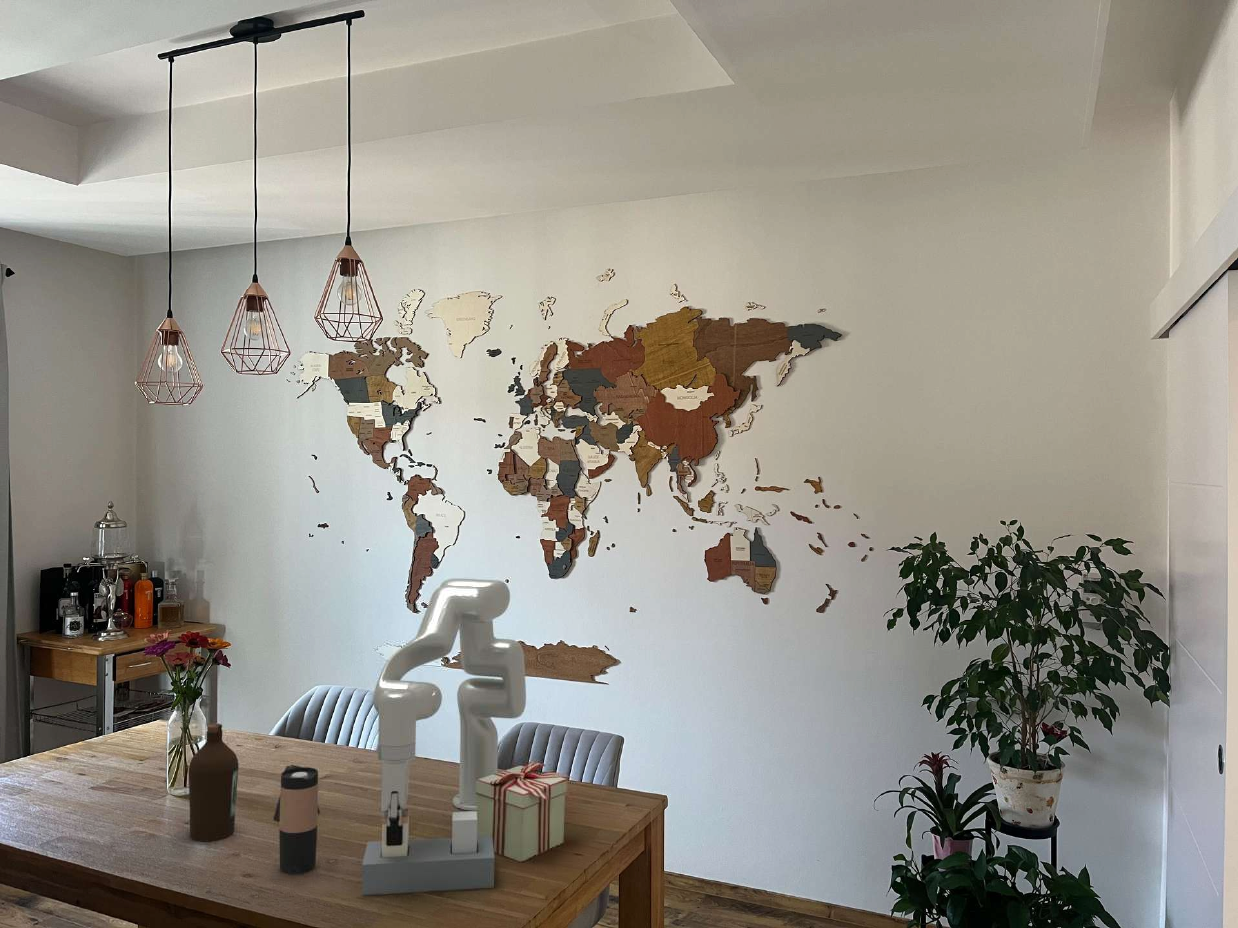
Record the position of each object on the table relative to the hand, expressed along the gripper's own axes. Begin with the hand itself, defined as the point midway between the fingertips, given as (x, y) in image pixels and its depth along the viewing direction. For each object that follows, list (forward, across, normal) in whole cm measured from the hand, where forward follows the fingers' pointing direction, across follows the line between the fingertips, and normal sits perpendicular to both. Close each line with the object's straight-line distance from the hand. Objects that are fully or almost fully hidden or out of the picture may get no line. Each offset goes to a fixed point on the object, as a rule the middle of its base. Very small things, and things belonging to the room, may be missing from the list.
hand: (395, 838), depth 193 cm
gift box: (+9, -15, +28) cm, 33 cm away
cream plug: (+7, 0, 0) cm, 7 cm away
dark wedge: (+9, -40, -26) cm, 49 cm away
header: (+9, 0, +7) cm, 11 cm away
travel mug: (+9, -10, -20) cm, 24 cm away
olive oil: (+9, -31, -43) cm, 54 cm away
